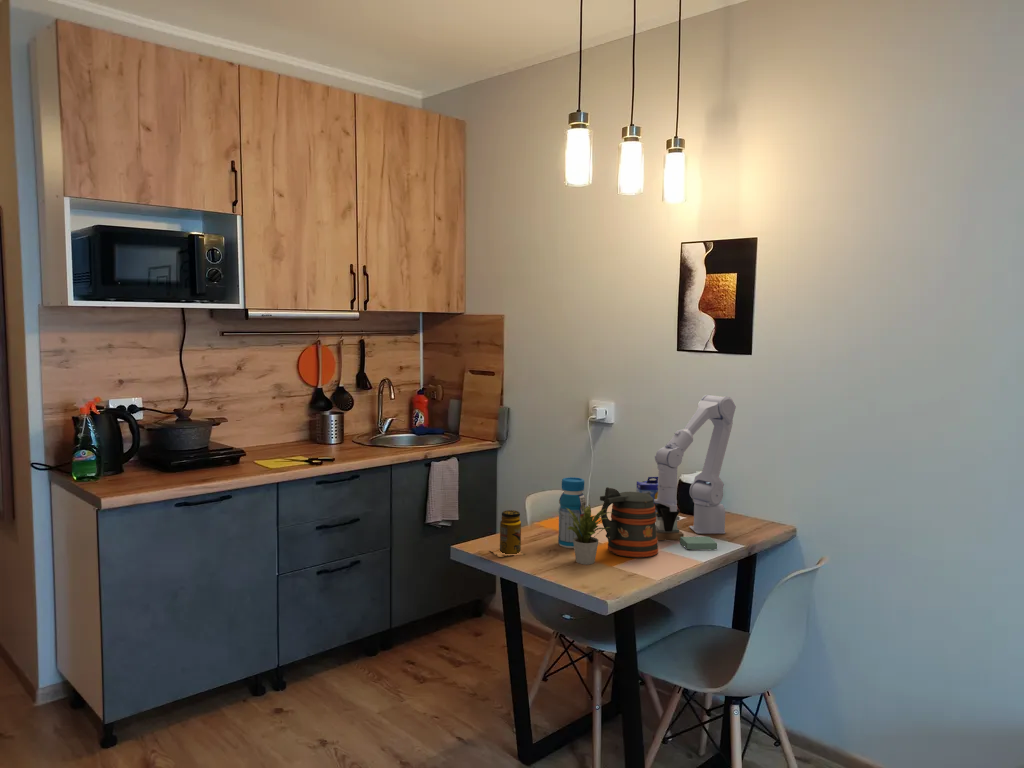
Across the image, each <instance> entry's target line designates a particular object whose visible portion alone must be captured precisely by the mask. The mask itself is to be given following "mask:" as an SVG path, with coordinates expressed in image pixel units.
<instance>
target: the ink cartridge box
mask: <svg viewBox="0 0 1024 768" xmlns="http://www.w3.org/2000/svg"><path fill="white" fill-rule="evenodd" d="M635 490H636V491H635V492H640V493H648V492H650V495H651V497H653V499H657V496H658V476H648V478H647V480H639V481H638V480H637V481H636V488H635ZM653 501H654V500H653ZM655 504H659V503H655V502H654V505H655ZM655 512H656V514H658V512H657V509H656V507H655Z"/></svg>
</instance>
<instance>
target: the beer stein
mask: <svg viewBox="0 0 1024 768" xmlns="http://www.w3.org/2000/svg"><path fill="white" fill-rule="evenodd" d="M653 500H654V499H653V497H651V495H650V492H648V493H640V492H636V491H621V492H619V491H618V490H617V489H616V488H612V487H605V490H604V495H600V496H599V501H601V502H603V504H602V507H601V510H603V509H605V508H607V509H605V510H604V511H603V512H604V513H607V512H608V508H609V507H610V505H612V506H611V507H612V508H611V512H614V513H610V519H609V518H608V513H607V514H604V513H602V514H604V515H602V514H601V515H602V516H601V515H600V516H601V517H600V520H601V519H602V520H601V524H602V526H603V528H605V529H606V530H605V529H604V530H605V532H606V534H605V537H606V539H607V542H608V543H607V551H609V553H612V554H614V555H617V556H619V557H625V558H629V559H631V558H633V559H639V558H642V559H643V558H650V557H654V556H656V555H657V554H658V552H659V550H658V549H659V547H658V543H659V541H658V540H657V536H656V512H655V505H654V501H653ZM601 510H600V511H601ZM603 518H608V519H603ZM607 527H609V528H607ZM607 530H608V531H609V532H608V531H607Z"/></svg>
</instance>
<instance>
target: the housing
mask: <svg viewBox="0 0 1024 768" xmlns="http://www.w3.org/2000/svg"><path fill="white" fill-rule="evenodd" d="M680 519H681V518H680V516H679V514H678V515H677V517H676V519H675V522H674V526H673V530H672V531H665V529H664V520H663V515H662V514H656V522H655V525H656V533H679V530H680V529H679V528H678V521H680Z"/></svg>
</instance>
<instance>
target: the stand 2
mask: <svg viewBox="0 0 1024 768" xmlns="http://www.w3.org/2000/svg"><path fill="white" fill-rule="evenodd" d="M679 543H681V544H682V545H683V546H682V545H681V544H680V545H681V546H682V547H684V546H685V547H686V548H687V549H717V550H718V542H717V541H715V540H714V539H713V538H711V536H684V537H680V540H679ZM685 547H684V548H685ZM686 548H685V549H686ZM687 549H686V550H687Z"/></svg>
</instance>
